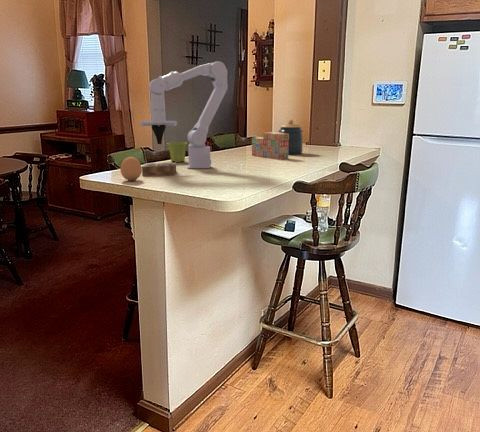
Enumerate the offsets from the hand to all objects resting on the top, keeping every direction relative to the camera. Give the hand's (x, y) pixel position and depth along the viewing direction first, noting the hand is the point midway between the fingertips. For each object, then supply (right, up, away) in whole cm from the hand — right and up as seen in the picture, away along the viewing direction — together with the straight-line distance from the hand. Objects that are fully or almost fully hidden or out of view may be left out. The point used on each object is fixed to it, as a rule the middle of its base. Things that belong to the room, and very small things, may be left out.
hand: (159, 143), depth 193 cm
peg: (+4, -13, -9) cm, 16 cm away
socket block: (+2, -13, -9) cm, 16 cm away
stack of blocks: (+48, 0, +42) cm, 64 cm away
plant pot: (+4, -5, +26) cm, 27 cm away
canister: (+60, +4, +58) cm, 83 cm away
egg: (-6, -17, -25) cm, 31 cm away
